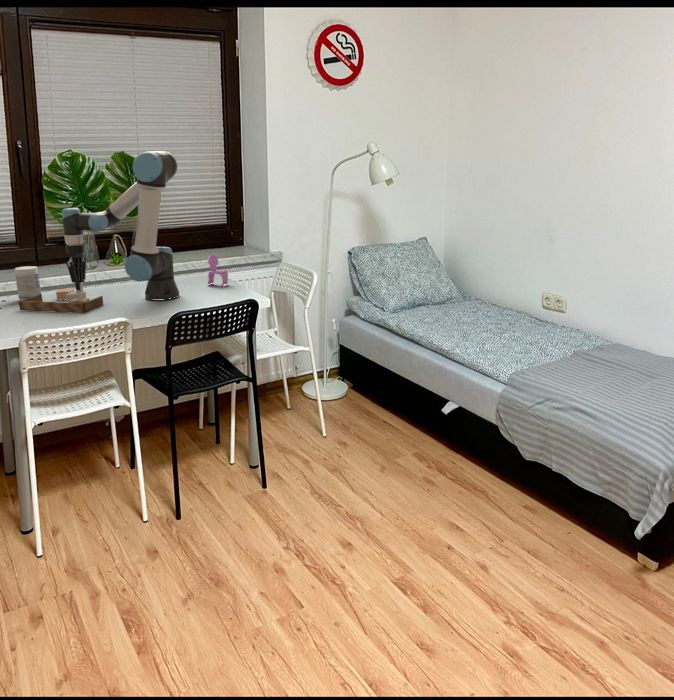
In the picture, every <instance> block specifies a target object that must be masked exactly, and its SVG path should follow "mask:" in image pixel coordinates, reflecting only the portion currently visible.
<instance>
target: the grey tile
mask: <svg viewBox="0 0 674 700" xmlns="http://www.w3.org/2000/svg"><path fill="white" fill-rule="evenodd" d="M75 298H87V293H86V291H84V292H76V291H74V292H71V293H68V294H66V300H65V301H66V303H67V302H68V303H70V301H71V300H73V299H75Z"/></svg>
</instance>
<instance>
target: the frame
mask: <svg viewBox="0 0 674 700" xmlns="http://www.w3.org/2000/svg"><path fill="white" fill-rule="evenodd" d="M18 305H19V311H20V310H29V311H28V312H41V311H55V312H54V313H67V312H72V314H73V313H76V314H87V313H90V312H91V311H93V310H94V311H95V310H96V309H98V308H99V307H103V306H104V298H103V295H100V296H97V297H93V299H90V301H87V302H85V303H67V301H66V302H61V301H58V302H57V301H43V294H42V293H41V294H38V295H35V296H32V297H30V298H27V299H24V300H21V301H20V300H19V301H18ZM102 305H103V306H102Z"/></svg>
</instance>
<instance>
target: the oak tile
mask: <svg viewBox="0 0 674 700" xmlns="http://www.w3.org/2000/svg"><path fill="white" fill-rule="evenodd" d="M90 300H91V299H90V298H88V297H86V298H75V299H73V300H71V301H70V303H85V302H87V301H90Z"/></svg>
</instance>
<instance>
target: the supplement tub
mask: <svg viewBox="0 0 674 700" xmlns="http://www.w3.org/2000/svg"><path fill="white" fill-rule="evenodd" d="M14 277H15V283H16V290H17V295H18V296H17V297H18V300H19V301H21V300H24V299H27V298H30V297H32V296H35V295H38V294H42V289H41V283H40V275H39V269H38V266H37V265H36V266H34V265H33V266H31V265H30V266H29V265H27V266H19V267H15V268H14Z"/></svg>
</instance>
